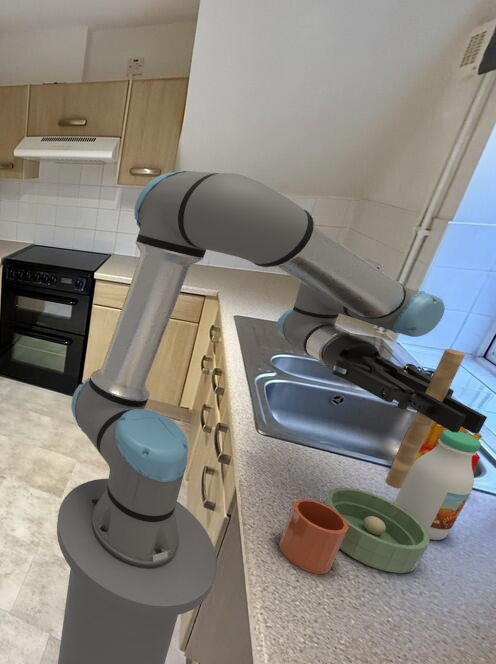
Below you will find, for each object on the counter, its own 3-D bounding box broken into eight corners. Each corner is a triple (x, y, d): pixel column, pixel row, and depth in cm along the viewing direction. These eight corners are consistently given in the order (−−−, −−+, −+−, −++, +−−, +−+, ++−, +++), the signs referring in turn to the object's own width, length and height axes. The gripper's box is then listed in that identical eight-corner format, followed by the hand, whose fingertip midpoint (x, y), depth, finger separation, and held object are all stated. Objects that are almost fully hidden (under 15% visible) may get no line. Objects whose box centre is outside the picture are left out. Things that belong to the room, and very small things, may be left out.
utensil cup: (281, 561, 70) (297, 521, 67) (277, 531, 76) (291, 492, 73) (334, 581, 67) (353, 540, 64) (325, 548, 73) (342, 508, 70)
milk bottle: (404, 535, 76) (449, 445, 69) (380, 504, 83) (419, 420, 76) (457, 546, 74) (509, 455, 67) (428, 514, 81) (473, 428, 74)
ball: (363, 533, 75) (369, 521, 74) (358, 522, 78) (364, 510, 77) (384, 540, 74) (390, 528, 73) (379, 528, 76) (385, 516, 75)
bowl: (325, 552, 72) (336, 527, 70) (311, 502, 83) (321, 478, 81) (429, 589, 66) (444, 562, 64) (399, 529, 77) (412, 504, 75)
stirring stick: (387, 485, 67) (448, 352, 59) (383, 478, 69) (442, 347, 60) (403, 490, 66) (468, 355, 58) (399, 482, 68) (461, 350, 59)
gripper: (376, 371, 80) (514, 450, 58) (295, 367, 80) (402, 444, 59) (390, 335, 77) (541, 404, 55) (307, 332, 78) (423, 398, 56)
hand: (469, 424), depth 57 cm, fingers closed on stirring stick, 2 cm apart
